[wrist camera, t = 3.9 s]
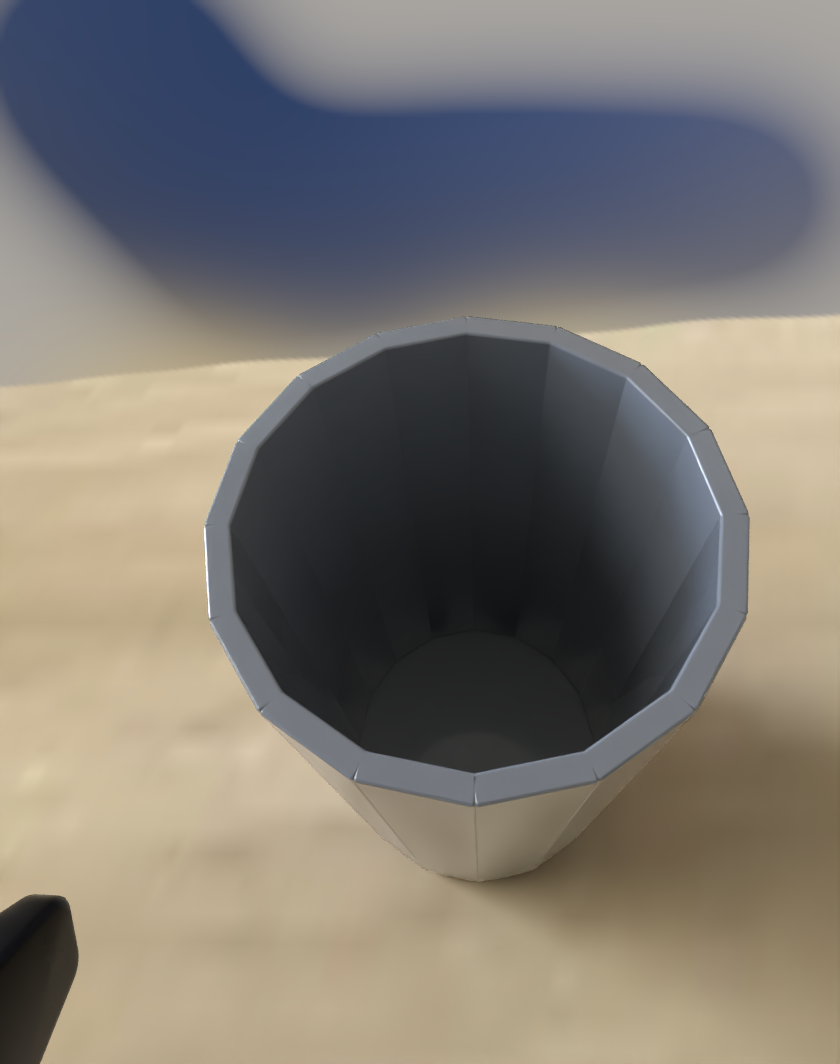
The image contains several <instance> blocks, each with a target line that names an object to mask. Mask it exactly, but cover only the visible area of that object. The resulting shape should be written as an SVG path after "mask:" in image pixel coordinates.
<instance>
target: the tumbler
mask: <svg viewBox="0 0 840 1064" xmlns="http://www.w3.org/2000/svg"><path fill="white" fill-rule="evenodd" d="M749 529H750V518H749V516H748V510H747V508H746V506H745V504H744V502H743V499H742V497H741V495H740V493H739V490H738V488H737V486H736V484H735V482H734V479H733V477H732V475H731V473H730V470H729V468H728V466H727V464H726V462H725V459H724V457H723V455H722V453H721V450H720V448H719V446H718V444H717V442H716V439H715V437H714V435H713V433H712V430H711V429H709V427H708V425H707V424H706V423H705V422H704V421H703V420H701V419H700V418H699V417H698V416H697V415H696V414H695V413H694V412H693V411H692V410H691V409H690V408H689V407H688V406H687V405H686V404H685V403H683V402H682V401H681V400H680V399H679V398H678V397H677V396H676V395H675V394H674V393H673V392H672V391H671V390H670V389H669V388H668V387H667V386H665V385H664V384H663V383H662V382H661V381H660V380H659V379H658V378H657V377H656V376H655V375H654V374H653V373H652V372H651V371H650V370H649V369H647V368H646V367H645V366H644V365H641V363H640V362H637V361H635V360H633V359H631V358H628V357H626V356H624V355H622V354H619V353H617V352H615V351H613V350H610V349H608V348H606V347H604V346H601V345H599V344H597V343H595V342H592V341H590V340H588V339H586V338H583V337H581V336H579V335H577V334H574V333H572V332H570V331H568V330H565V329H563V328H561V327H558V328H557V327H556V326H551V325H542V324H533V323H523V322H515V321H506V320H497V319H488V318H479V317H467V318H466V317H459V318H454V319H448V320H444V321H438V322H433V323H427V324H422V325H417V326H411V327H406V328H401V329H395V330H390V331H385V332H380V333H378V335H377V334H374V335H372V336H370V337H369V338H367V339H365V340H363V341H361V342H359V343H357V344H356V345H354V346H352V347H350V348H348V349H346V350H344V351H342V352H340V353H339V354H337V355H335V356H333V357H331V358H329V359H327V360H325V361H324V362H322V363H320V364H318V365H316V366H314V367H312V368H310V369H309V370H307V371H305V372H303V373H301V374H300V375H299V377H296V378H295V379H294V380H293V381H292V382H291V383H290V384H289V385H288V386H287V387H286V388H285V390H284V391H283V392H282V393H281V394H280V395H279V396H278V397H277V398H276V399H275V400H274V401H273V402H272V404H271V405H270V406H269V407H268V408H267V409H266V410H265V411H264V412H263V413H262V414H261V415H260V417H259V418H258V419H257V420H256V421H255V422H254V423H253V424H252V425H251V426H250V427H249V428H248V429H247V431H246V432H245V433H244V434H243V435H242V436H241V437H240V438H239V439H238V442H237V443H236V444H235V447H234V450H233V452H232V455H231V457H230V460H229V462H228V465H227V468H226V470H225V473H224V475H223V478H222V480H221V483H220V486H219V488H218V491H217V493H216V496H215V499H214V501H213V504H212V506H211V509H210V511H209V514H208V517H207V519H206V522H205V527H204V542H205V561H206V579H207V598H208V617H209V620H210V625H211V627H212V629H213V631H214V633H215V634H216V636H217V638H218V640H219V642H220V644H221V645H222V647H223V649H224V651H225V653H226V655H227V656H228V658H229V660H230V662H231V664H232V666H233V667H234V669H235V671H236V673H237V675H238V677H239V678H240V680H241V682H242V684H243V686H244V688H245V689H246V691H247V693H248V695H249V697H250V698H251V700H252V702H253V704H254V706H255V708H256V709H257V711H258V712H259V713H260V714H261V715H262V717H263V718H264V719H265V720H266V721H267V722H268V723H269V724H270V725H271V726H272V727H273V728H274V729H275V730H276V731H277V732H278V733H279V734H280V735H281V736H282V737H283V738H284V739H285V740H286V741H287V742H288V743H289V744H290V745H291V746H292V747H293V748H294V749H295V750H296V751H297V752H298V753H299V754H300V755H301V756H302V757H303V758H304V759H305V760H306V761H307V762H308V763H309V764H310V765H311V767H312V768H313V769H314V770H315V771H316V772H317V773H318V774H319V775H320V776H321V777H322V778H323V779H324V780H325V781H326V782H327V783H328V784H329V785H330V786H331V787H332V788H333V789H334V790H335V791H336V792H337V793H338V794H339V795H340V796H341V797H342V798H343V799H344V800H345V801H346V802H347V803H348V804H349V805H350V806H351V807H352V808H353V809H354V810H355V811H356V812H357V813H358V814H359V815H360V816H361V817H362V818H363V819H364V820H365V821H366V822H367V824H368V825H369V826H370V827H371V828H372V829H373V830H374V831H375V832H376V833H377V834H378V835H379V836H380V837H381V838H382V839H384V840H385V841H386V842H388V843H389V844H390V845H392V846H393V847H394V848H396V849H397V850H398V851H400V852H401V853H402V854H403V855H404V856H406V857H407V858H409V859H410V860H412V861H413V862H414V863H416V864H417V865H418V866H420V867H421V868H422V869H425V870H427V871H431V872H436V873H439V874H442V875H446V876H449V877H452V878H459V879H465V880H471V881H475V882H478V881H479V882H482V881H486V880H493V879H501V878H506V877H510V876H513V875H517V874H521V873H525V872H530V871H531V870H534V869H535V868H537V867H538V866H540V865H541V864H542V863H544V862H545V861H546V860H548V859H550V858H551V857H553V856H554V855H555V854H556V853H557V852H559V851H560V850H561V849H563V848H564V847H565V846H567V845H568V844H569V843H571V842H572V841H573V840H575V839H576V838H577V837H578V835H579V834H580V833H581V832H582V831H583V830H584V829H585V828H586V827H587V826H588V825H589V824H590V823H591V822H592V821H593V820H594V819H595V818H596V817H597V816H598V814H599V813H600V812H601V811H602V810H603V809H604V808H605V807H606V806H607V805H608V804H609V803H610V802H611V801H612V800H613V799H614V798H615V797H616V796H617V795H618V793H619V792H620V791H621V790H622V789H623V788H624V787H625V786H626V785H627V784H628V783H629V782H630V781H631V780H632V779H633V778H634V777H635V776H636V775H637V774H638V772H639V771H640V770H641V769H642V768H643V767H644V766H645V765H646V764H647V763H648V762H649V761H650V760H651V759H652V758H653V757H654V756H655V755H656V754H657V753H658V751H659V750H660V749H661V748H662V747H663V746H664V745H665V744H666V743H667V742H668V741H669V740H670V739H671V738H672V737H673V736H674V735H675V734H676V733H677V731H678V730H679V729H680V728H681V727H682V726H683V725H684V724H685V723H686V722H687V721H688V720H689V719H690V718H691V717H692V716H693V715H694V713H695V712H696V711H697V710H698V709H699V707H700V705H701V703H702V701H703V700H704V698H705V696H706V694H707V692H708V690H709V688H710V686H711V684H712V683H713V681H714V679H715V677H716V675H717V673H718V671H719V669H720V668H721V666H722V664H723V662H724V660H725V658H726V656H727V654H728V652H729V651H730V649H731V647H732V645H733V643H734V641H735V639H736V637H737V636H738V634H739V632H740V630H741V628H742V626H743V624H744V622H745V620H746V615H747V613H748V579H749Z"/></svg>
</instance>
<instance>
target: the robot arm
mask: <svg viewBox="0 0 840 1064" xmlns="http://www.w3.org/2000/svg"><path fill="white" fill-rule="evenodd" d="M77 966H78V947H77V942H76V936H75V931H74V926H73V921H72V915H71V910H70V906H69V903H68V901H67V900H66V899H65V898H64V897H62V896H57V895H36V894H34V895H29V896H26V897H24V898H23V899H21V900H19V901H18V902H16V903H15V904H13V905H12V906H10V907H9V908H7V909H6V910H4V911H3V912H1V913H0V1064H40V1062H41V1060H42V1057H43V1055H44V1052H45V1050H46V1047H47V1045H48V1042H49V1040H50V1037H51V1035H52V1032H53V1030H54V1027H55V1025H56V1022H57V1020H58V1018H59V1015H60V1013H61V1010H62V1008H63V1005H64V1003H65V1000H66V998H67V995H68V993H69V990H70V988H71V985H72V983H73V980H74V977H75V975H76V971H77Z"/></svg>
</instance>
